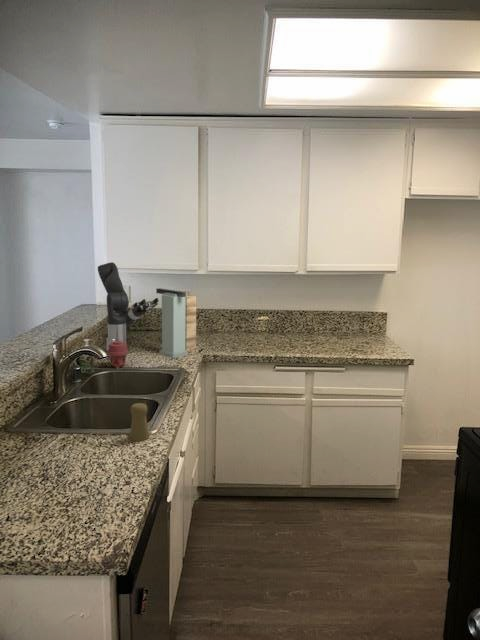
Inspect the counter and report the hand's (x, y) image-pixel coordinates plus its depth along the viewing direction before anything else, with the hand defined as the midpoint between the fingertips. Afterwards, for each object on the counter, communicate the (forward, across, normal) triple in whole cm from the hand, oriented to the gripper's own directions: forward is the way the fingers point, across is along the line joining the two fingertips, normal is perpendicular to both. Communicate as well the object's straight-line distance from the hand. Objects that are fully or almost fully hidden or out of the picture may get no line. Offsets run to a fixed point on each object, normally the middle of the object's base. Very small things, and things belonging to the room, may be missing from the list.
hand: (151, 300), depth 269 cm
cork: (+73, -76, +73) cm, 128 cm away
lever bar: (+17, 0, +5) cm, 18 cm away
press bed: (-3, +14, +30) cm, 33 cm away
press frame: (+4, 0, +34) cm, 34 cm away
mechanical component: (+6, -36, +35) cm, 51 cm away
